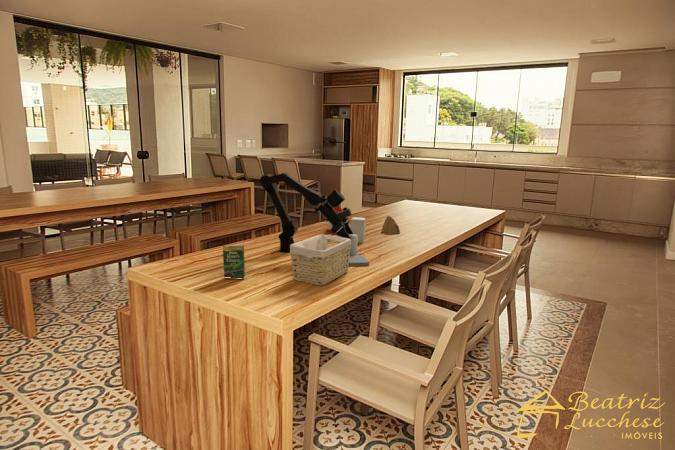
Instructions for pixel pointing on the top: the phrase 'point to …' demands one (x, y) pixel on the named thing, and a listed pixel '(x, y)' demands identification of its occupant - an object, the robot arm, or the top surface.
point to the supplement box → (358, 228)
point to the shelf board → (358, 260)
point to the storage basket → (320, 259)
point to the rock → (390, 226)
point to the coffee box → (234, 261)
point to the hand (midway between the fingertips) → (351, 237)
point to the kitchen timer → (330, 223)
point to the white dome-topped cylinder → (353, 244)
